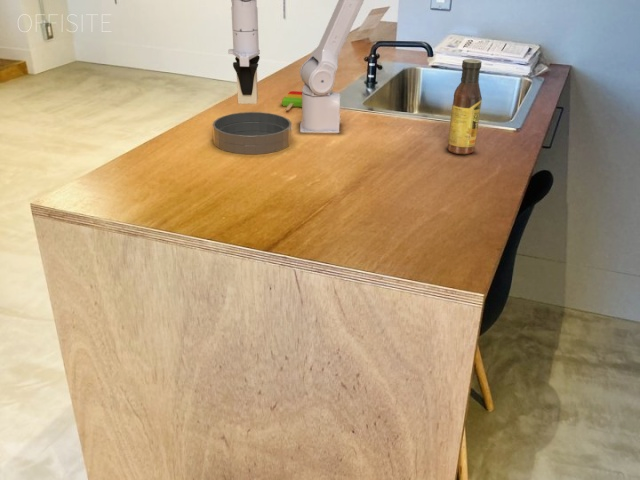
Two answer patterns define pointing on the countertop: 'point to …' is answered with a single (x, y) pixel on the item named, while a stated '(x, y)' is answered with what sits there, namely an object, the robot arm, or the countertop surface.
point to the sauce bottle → (465, 110)
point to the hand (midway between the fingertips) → (247, 91)
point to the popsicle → (292, 100)
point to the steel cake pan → (252, 133)
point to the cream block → (248, 98)
